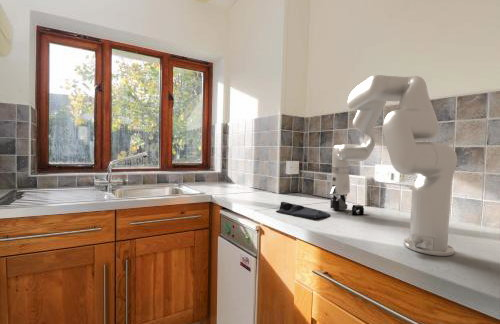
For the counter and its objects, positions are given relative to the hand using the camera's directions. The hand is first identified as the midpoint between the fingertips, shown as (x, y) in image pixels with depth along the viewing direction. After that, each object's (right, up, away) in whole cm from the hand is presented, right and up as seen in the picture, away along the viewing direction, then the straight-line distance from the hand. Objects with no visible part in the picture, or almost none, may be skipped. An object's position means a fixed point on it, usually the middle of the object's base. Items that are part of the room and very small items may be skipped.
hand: (338, 207), depth 130 cm
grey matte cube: (0, 0, 0) cm, 0 cm away
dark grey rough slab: (-19, -2, -9) cm, 22 cm away
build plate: (+6, -2, -7) cm, 10 cm away
